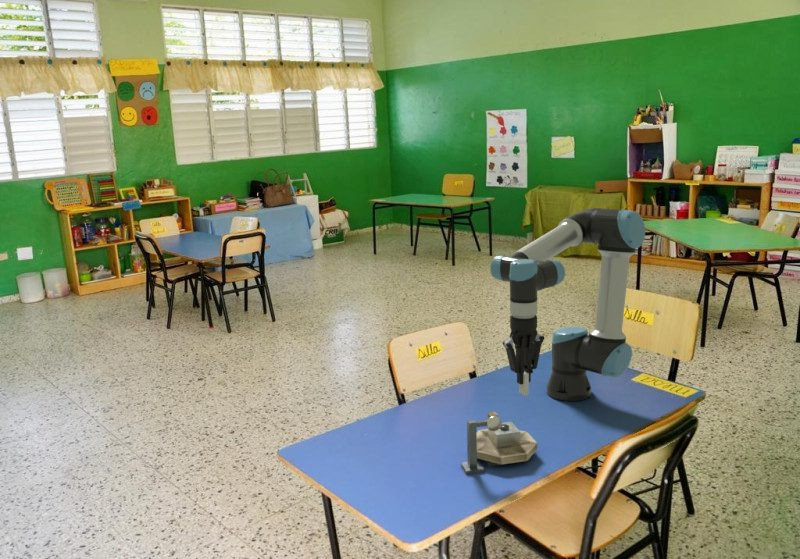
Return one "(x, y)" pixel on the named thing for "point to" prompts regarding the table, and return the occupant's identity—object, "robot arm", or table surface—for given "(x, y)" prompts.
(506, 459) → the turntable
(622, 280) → the robot arm
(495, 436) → the cover
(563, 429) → the table surface
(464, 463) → the dial post
